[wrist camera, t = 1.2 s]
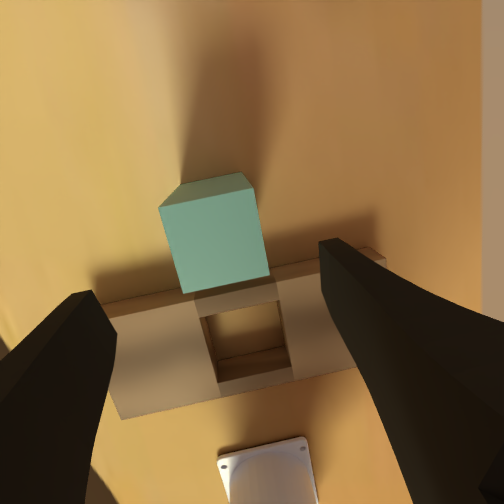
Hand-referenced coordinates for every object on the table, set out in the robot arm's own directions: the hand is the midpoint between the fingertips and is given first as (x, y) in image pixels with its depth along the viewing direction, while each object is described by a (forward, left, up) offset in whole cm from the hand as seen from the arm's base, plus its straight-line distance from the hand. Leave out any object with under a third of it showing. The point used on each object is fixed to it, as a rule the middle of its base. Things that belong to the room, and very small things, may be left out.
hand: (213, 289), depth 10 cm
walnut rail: (-9, 0, -12) cm, 15 cm away
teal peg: (0, 0, -12) cm, 12 cm away
